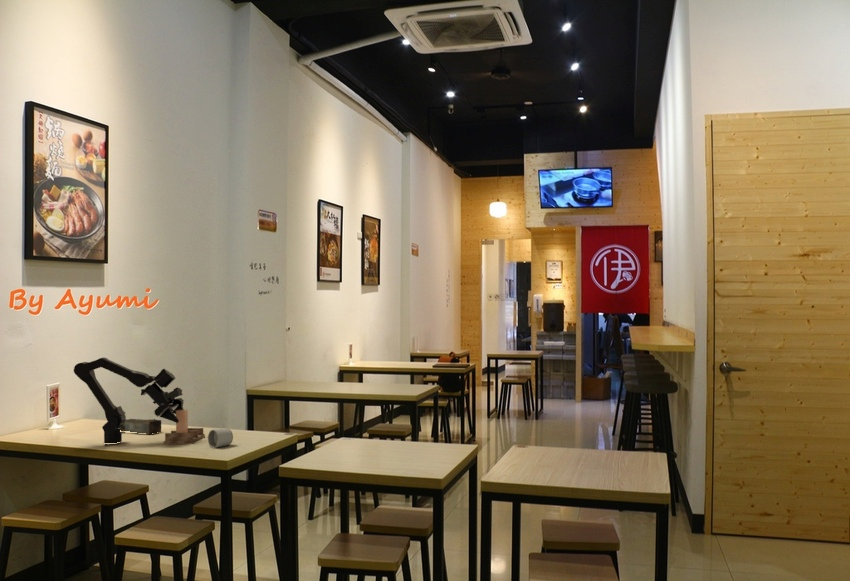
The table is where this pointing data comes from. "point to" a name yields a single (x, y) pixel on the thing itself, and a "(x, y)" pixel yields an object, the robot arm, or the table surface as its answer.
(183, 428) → the clay slab
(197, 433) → the slotted wooden tray
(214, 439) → the grey cup
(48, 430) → the table surface
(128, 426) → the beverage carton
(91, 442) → the table surface
